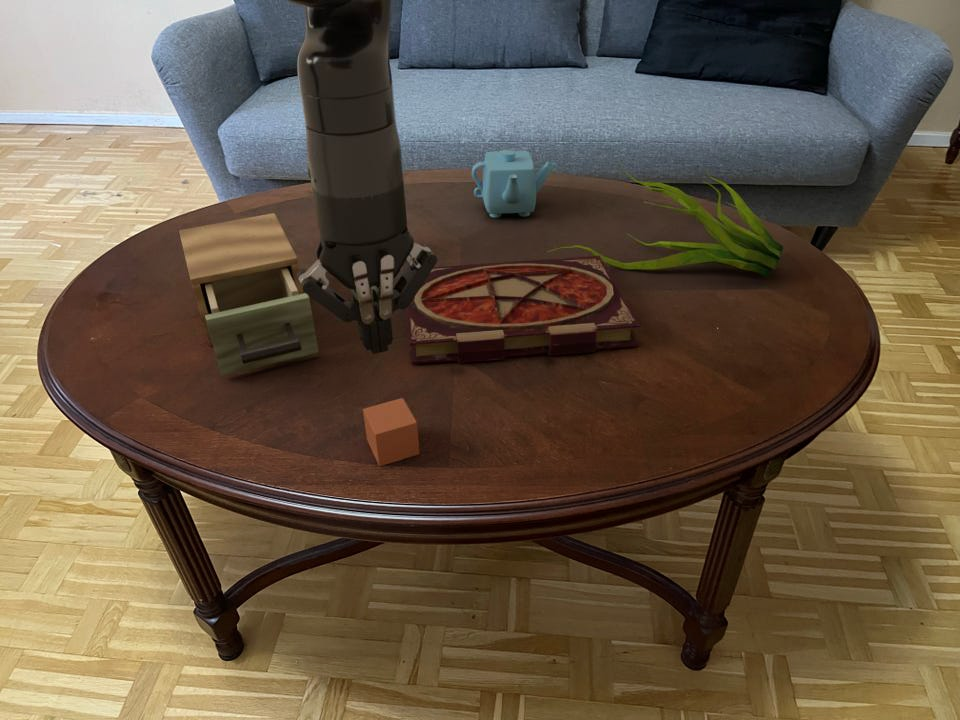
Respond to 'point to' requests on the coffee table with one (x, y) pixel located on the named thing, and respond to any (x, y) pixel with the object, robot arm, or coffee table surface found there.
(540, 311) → the book
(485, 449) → the coffee table surface
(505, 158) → the teapot
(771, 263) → the decorative plant
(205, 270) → the cabinet
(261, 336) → the drawer
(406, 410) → the block
